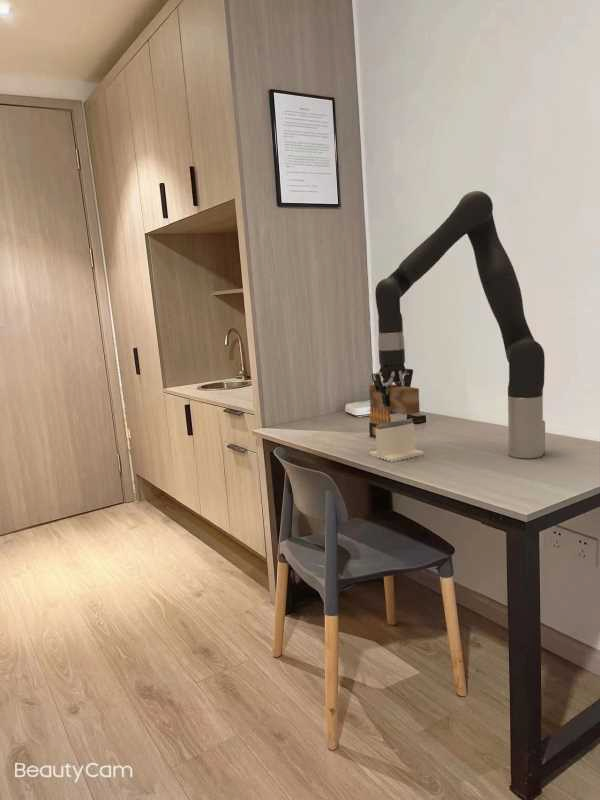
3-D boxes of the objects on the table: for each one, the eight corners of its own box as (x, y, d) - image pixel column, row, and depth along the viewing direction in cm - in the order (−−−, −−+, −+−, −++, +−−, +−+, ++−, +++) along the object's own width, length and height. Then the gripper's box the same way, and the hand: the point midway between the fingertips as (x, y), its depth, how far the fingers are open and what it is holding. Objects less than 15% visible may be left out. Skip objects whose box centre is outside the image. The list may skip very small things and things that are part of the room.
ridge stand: (400, 448, 193) (399, 416, 191) (423, 454, 183) (422, 422, 182) (369, 455, 187) (367, 422, 186) (390, 462, 178) (389, 428, 176)
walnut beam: (419, 412, 176) (418, 388, 175) (407, 414, 174) (406, 390, 173) (382, 405, 192) (381, 382, 191) (370, 407, 190) (369, 384, 189)
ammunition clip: (369, 436, 211) (367, 402, 209) (373, 436, 212) (372, 401, 210) (388, 442, 202) (387, 406, 200) (393, 441, 203) (391, 405, 201)
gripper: (379, 350, 173) (381, 410, 176) (419, 346, 180) (421, 403, 183) (363, 349, 180) (366, 407, 183) (403, 345, 186) (405, 400, 189)
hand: (393, 405), depth 183 cm, fingers closed on walnut beam, 4 cm apart
